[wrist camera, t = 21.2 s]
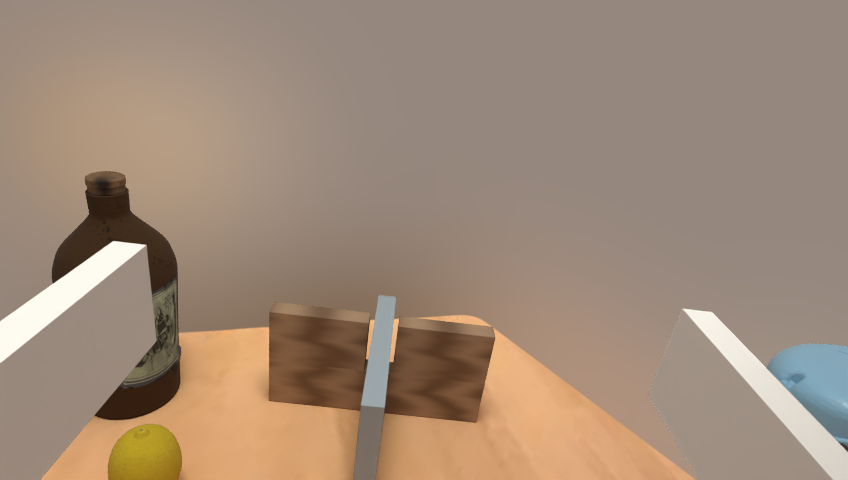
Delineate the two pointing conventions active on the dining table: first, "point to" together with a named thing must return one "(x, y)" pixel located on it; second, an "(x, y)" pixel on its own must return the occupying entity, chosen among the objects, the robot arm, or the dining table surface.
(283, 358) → the walnut slotted board
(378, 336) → the slate slotted plate
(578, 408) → the dining table surface
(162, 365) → the dark brown bottle
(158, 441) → the lemon
